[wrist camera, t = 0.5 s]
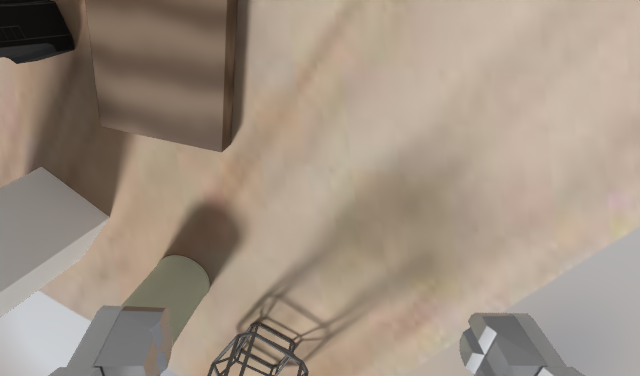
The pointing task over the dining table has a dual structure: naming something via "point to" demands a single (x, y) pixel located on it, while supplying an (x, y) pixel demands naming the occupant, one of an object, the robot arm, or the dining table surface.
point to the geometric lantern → (244, 364)
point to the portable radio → (32, 30)
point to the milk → (41, 233)
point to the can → (173, 290)
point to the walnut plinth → (165, 68)
